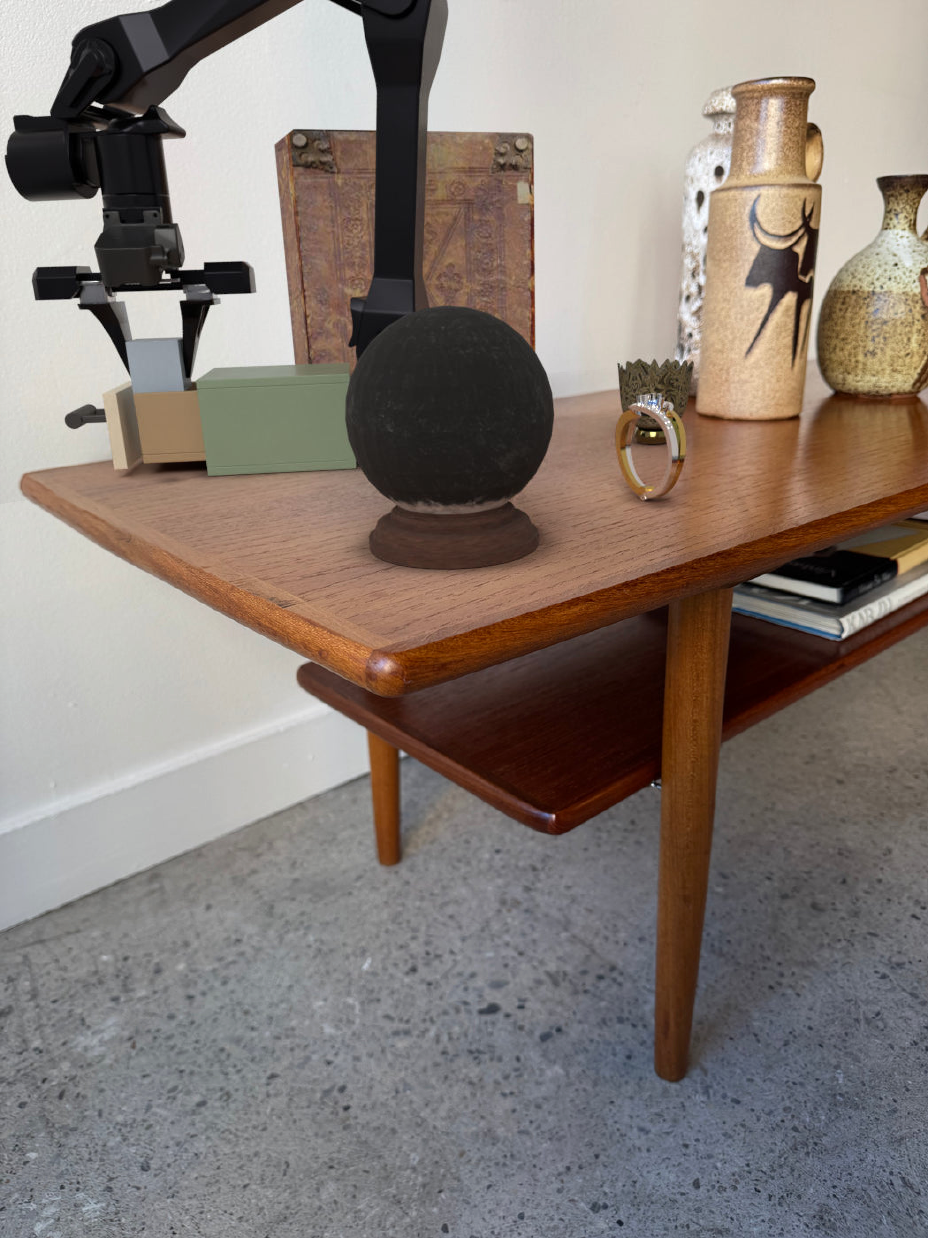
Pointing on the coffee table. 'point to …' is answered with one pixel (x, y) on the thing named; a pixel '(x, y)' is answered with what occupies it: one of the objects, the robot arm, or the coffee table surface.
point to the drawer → (147, 425)
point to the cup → (656, 380)
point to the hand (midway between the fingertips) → (161, 378)
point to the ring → (673, 437)
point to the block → (157, 365)
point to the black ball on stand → (450, 436)
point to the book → (453, 230)
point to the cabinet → (275, 418)
